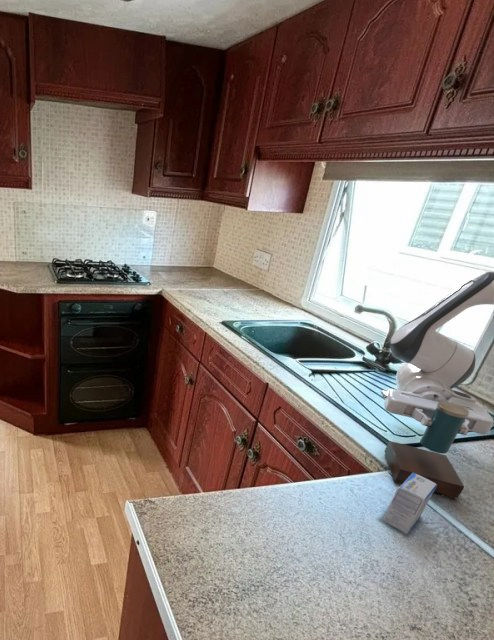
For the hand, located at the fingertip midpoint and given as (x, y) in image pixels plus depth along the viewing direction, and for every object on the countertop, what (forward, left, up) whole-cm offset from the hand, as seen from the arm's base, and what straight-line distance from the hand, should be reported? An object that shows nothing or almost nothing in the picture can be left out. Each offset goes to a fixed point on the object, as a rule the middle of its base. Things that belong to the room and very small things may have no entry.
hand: (445, 427), depth 87 cm
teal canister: (0, -1, -6) cm, 6 cm away
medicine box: (+7, +17, -14) cm, 23 cm away
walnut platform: (0, -1, -14) cm, 14 cm away
